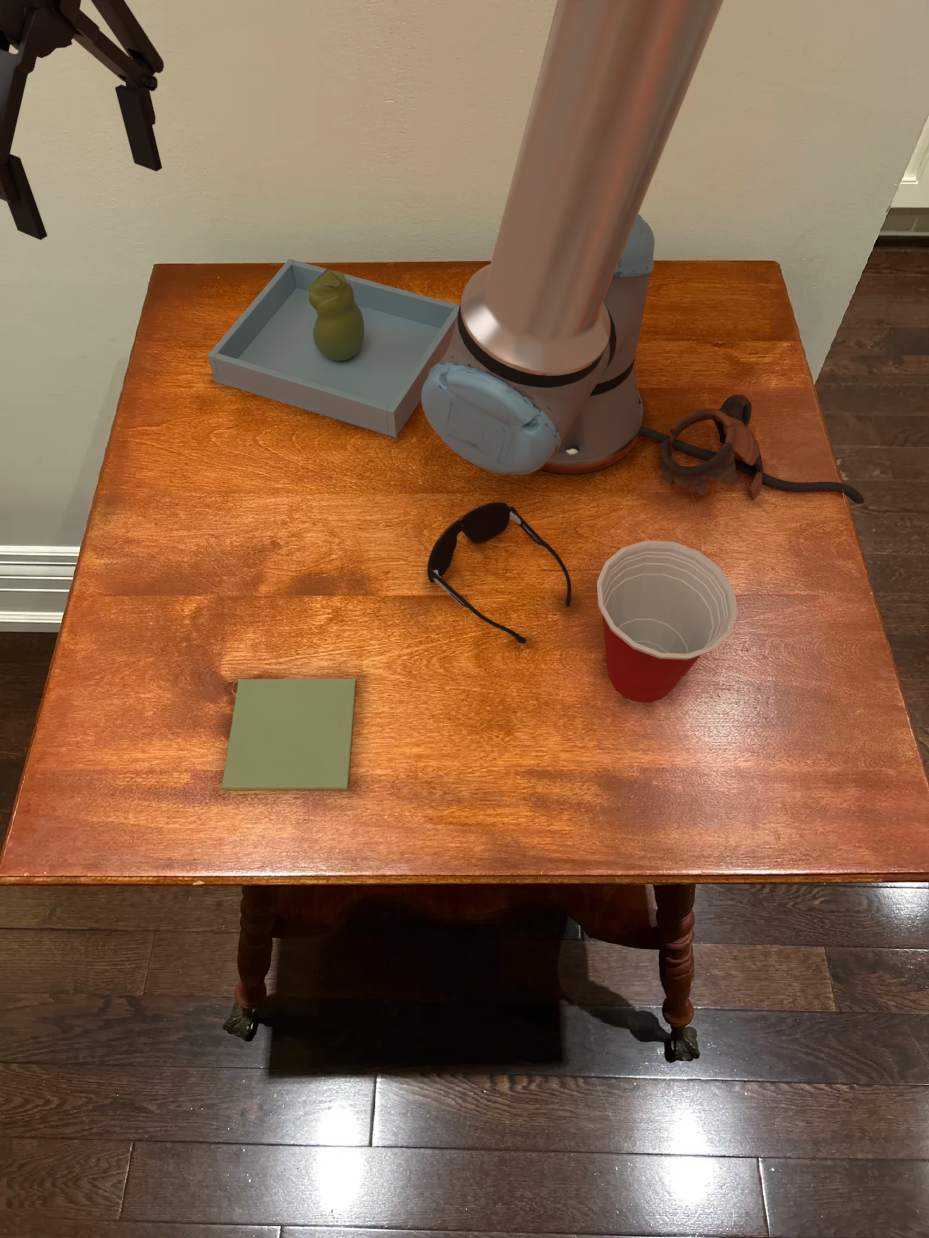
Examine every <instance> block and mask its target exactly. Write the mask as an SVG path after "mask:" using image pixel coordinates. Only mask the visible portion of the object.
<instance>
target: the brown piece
mask: <svg viewBox="0 0 929 1238" xmlns="http://www.w3.org/2000/svg"><path fill="white" fill-rule="evenodd" d="M752 409H753V405H752V402H751V400H750V399H749V398H748V397H747V396H746V395H744V394H732V395H730V396H728V397H726V399H725V400H724V401H723V402H722V404H721V406H720V407H719V409H716V408H715V409H714V408H702V409H697V410H694V411H690V412H688V413H685V415H683V416H681V417H679V418H678V419H676V421H674V422H673V423H672V424H671V426H670V427H669V429H668V430H669V432H670V434H671V435H670V436H671V437H670V439H666V440H665V441H664V442H662V443H660V445H659V452H660V457H661V458H660V461H659V466H660V470H661V473H662V475H663V477H664V479H665V480H666V481H667V482H668V483H669V484H670V485H674V486H675V487H677V488H680V489H687V490H692V491H694V492H695V493H697V494H699V495H701V496H703V497H705V496H706V488H707V483H708V480H709V477H711V478H712V479H713V480H715V481H717V482H726V483H727V484H732V483H735V482H737V481H738V480H739V478H740V477H739V475H738V472H737V471H736V470H737V469H736V465H735V461H734V458H735V455H737V456H738V457H739V458H741V459H742V461H743V462H745V463H746V464H748V465H750V466H753V467H755V468H756V471H757V473H756V475H755V477H754V478H752V479H753V480H752V481H751V483H750V484H749V486H748V491H749V493H750V494H749V495H750V500H751V501H755V500H757V498H758V496H759V495H760V493H761V490H762V488H763V487H762V486H763V483H762V482H763V480H762V475H763V472H764V466H763V460H762V454H761V450H760V446H759V443H758V441H757V439H756V437H755V435H754V433H753V432H752V430H751V429H750V428H749V424H750V421H751V417H752ZM702 421H713V422H714V425H715V427H716V429H717V433H718V439H719V443H720V444H721V445H722V446H721V448H720V450H718V451H717V454H716V455H715V456H714V457H712V458H711V459H710V460H706V461H704V462H702V463H700V464H696V465H695V464H694V465H683V464H682V465H681V464H679V463H677V462H675V460H674V459H673V455H674V448H672V443H673V441H674V440H675V439H677V437H679V435H680V434H681V433H682V432H684V431H685V430H686V429H688V428H689V427H691V426H693V425H694V424H697V423H700V422H702Z"/></svg>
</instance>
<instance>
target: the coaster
mask: <svg viewBox="0 0 929 1238" xmlns="http://www.w3.org/2000/svg"><path fill="white" fill-rule="evenodd" d="M236 687H237V688H236V694H235V700H234V707H233V713H232V720H231V724H230V733H229V739H228V745H227V752H226V759H225V763H224V764H225V765H224V772H223V777H222V784H221V785H222V786H221V788H222V790H223V791H329V790H330V791H340V790H341V791H348V790H349V782H350V767H351V757H352V756H351V753H352V743H353V742H352V741H353V729H354V716H355V702H356V688H357V679H356V678H238V680H237V686H236Z"/></svg>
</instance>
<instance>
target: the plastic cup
mask: <svg viewBox="0 0 929 1238" xmlns="http://www.w3.org/2000/svg"><path fill="white" fill-rule="evenodd" d="M596 590H597V600H598V610H599V611H600V613H601V616H602V623H603V636H604V650H605V651H604V652H605V661H606V666H607V675H608V678H609V680H610V682H611V684H612V686H613V688H614V690H615V691H616V692H618V693H619V694H620V695H622V696H623V697H624V698H626V699H629V700H632V701H634V702H637V703H653V702H655V701H658V700H660V699H664V697H666V696H667V695H668V694H669V693H670V692H671V691H672V690H673V689H674V688H676V686H677V685H678V683H679V682H680V680H681V679H683V677H684V676H685V675H686V674H688V672H689V671H690V670H691V668H692V667H693V666H694V665H695V664H696V662H697V661H698V660H699V658H700V657H701V656H703V655H706V654H708V653H711V652H713V651H715V650H716V649H717V648H718V647H719V646H721V644H722V643H723V642H724V641H726V639H727V638H728V637H729V636H730V635H732V634H733V630H734V627H735V623H736V620H737V618H738V617H737V616H738V614H739V609H738V603H737V598H736V592H735V588H734V586H733V584H732V583H731V581H730V580H729V578H728V577H727V576H726V574H725V572H724V571H723V570H722V568H721V567H720V566H719V565H718V564H716V563H715V562H714V561H713V560H711V559H710V558H709V557H707V556H705V554H703V553H702V552H701V551H699V550H697V549H694V548H691V547H689V546H687V545H684V544H681V543H678V542H675V541H670V540H669V541H668V540H667V541H666V540H643V541H640V542H636V543H633V544H630V545H625V546H623V547H621V548H620V549H619V550H618V551H617V552H615V553H614V554H613V555H612V556H611V557H609V558H608V559H607V560H606V561H605V562H604V564H603V567H602V569H601V571H600V573H599V576H598V578H597V581H596Z"/></svg>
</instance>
